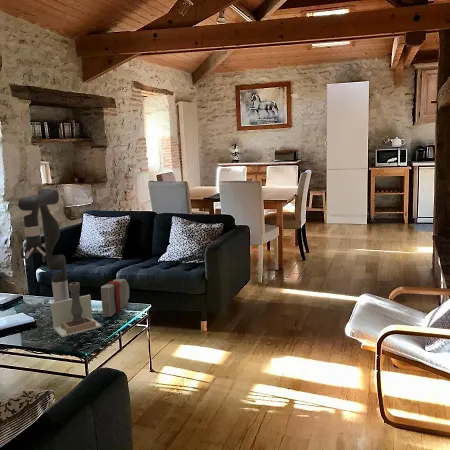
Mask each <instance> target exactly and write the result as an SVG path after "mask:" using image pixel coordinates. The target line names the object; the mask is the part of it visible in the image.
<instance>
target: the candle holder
mask: <svg viewBox="0 0 450 450" xmlns="http://www.w3.org/2000/svg"><path fill="white" fill-rule="evenodd" d="M80 286H81V285H80V282H77V281H74V282H70V283H68V291H69V293H70V294H69V297H71V299H72V308H71V313H72V315H73V317H74V318H73V319H72V320H73V322H72V326H76V325H80V324H84V320H83V317H82V316H81V314H82V312H83V309H82V307H81V304H80V300H79V297H81V296H80V295H81V293H80V290H81V287H80Z"/></svg>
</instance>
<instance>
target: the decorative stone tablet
mask: <svg viewBox="0 0 450 450" xmlns="http://www.w3.org/2000/svg"><path fill="white" fill-rule="evenodd" d="M100 294H101V312H102V317H105V318H111V317H112V316H114V314H115V316H116V315H118V314H119V313H120V312H121V311H122V310H123V309H124V308H125V307H126V306H127V304H128V301H129V298H130V287H129V283H128V281H127V280H126V278H116V279H113V280H111V281H109V282H107V283H106V284H104V285H101V286H100Z"/></svg>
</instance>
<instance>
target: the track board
mask: <svg viewBox="0 0 450 450" xmlns="http://www.w3.org/2000/svg"><path fill="white" fill-rule="evenodd" d="M79 300H80V304H81V307H82V309H83V312H82V314H81V316H82V317H83V320H84V324H80V325H76V326H72V322H73V320H72V319H73V318H74V317H73V315H72V313H71V308H72V298H69V299H68V300H63V301H59V302H54V301H53V302H51V303H50V308H51V315H52V325H53V330H54V331H56V333H57V334H58V335H59V336H60V337H61V338H65V337H69V336H72V334H73V335H76V334H80V333H85V332H87V331H92V330H95V329H99V328H102V324H100V323H99V322H98V321H96V320H95V319H94V318H93V309H92V308H93V307H92V297H91V294H87V295H81V296H79ZM68 335H69V336H68Z"/></svg>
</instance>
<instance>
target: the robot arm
mask: <svg viewBox="0 0 450 450" xmlns="http://www.w3.org/2000/svg"><path fill="white" fill-rule="evenodd" d="M59 201H60V193H59V192H58V190H57V189H54V188H41V189H39V190H38V192H37V194H35V195H31V196H24V197H20V199H19V200H18V201H17V206H18V209H20V211H26V212H27V211H29V212H30V211H31V213H30V214H26V215H24V216H23V224H24V237H25V246H20V247H19V252H20V255H19V256H20V258H21V259H24V264H25V265H26V266H27V267H28V266H30V261H29V258H30V255H31V254H32V255H33V254H38V253H40V254H41V255H42V263H46V264H47V265H46V266H47V268H48V269H47V270H48V271H59V272H58V273H56V274H54V275H52V276H51V278H50V280H51V287H52V294H53V295H52V296H53V297H52V298H53V303H54V302H59V301H63V300H68V299H70V294H69V293H70V290H69V282H68V275H67V259H66V256H65V255H64V254H57V255H53V251H54V248H55V247H56V245H57V242H58V240H59V239H60V236H61V230H60V225H59V222H58V221H57V219H56V218H55V217H54V216H53V214H51V212H50V210H49V208H48V206H49V205H50V206H51V205H52V206H53V205H56V204H58V202H59ZM39 211H40V214H41V220H42V231H43V237H44V243H42V240H41V239H42V238H41V230H40V226H39ZM42 248H44V251H43V250H42ZM25 250H27V251H26V253H25Z"/></svg>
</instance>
